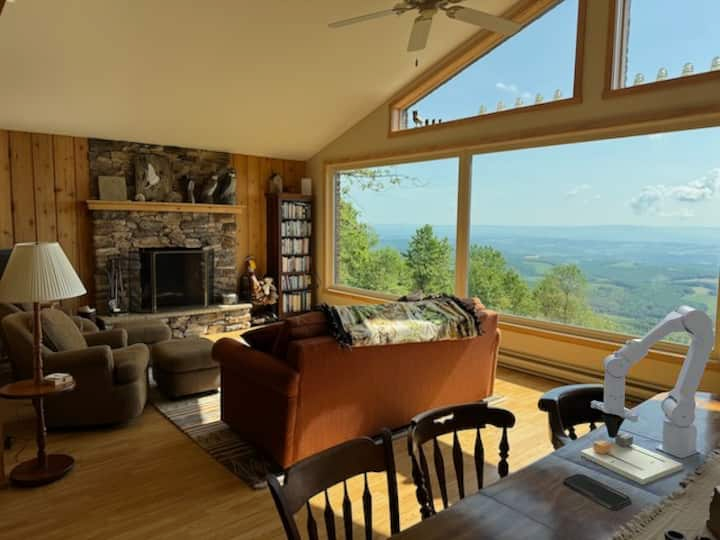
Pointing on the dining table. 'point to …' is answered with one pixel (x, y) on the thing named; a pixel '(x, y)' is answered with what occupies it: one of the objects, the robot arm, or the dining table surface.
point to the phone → (597, 491)
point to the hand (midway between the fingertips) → (612, 436)
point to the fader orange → (602, 446)
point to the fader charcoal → (624, 439)
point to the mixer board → (634, 462)
